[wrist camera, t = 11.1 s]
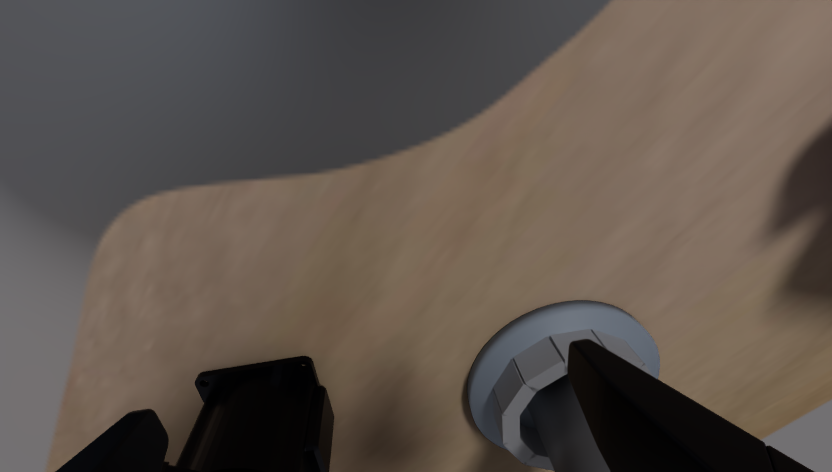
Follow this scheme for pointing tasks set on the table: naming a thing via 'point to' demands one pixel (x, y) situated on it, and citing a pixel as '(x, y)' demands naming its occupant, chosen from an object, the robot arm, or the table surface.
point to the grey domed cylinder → (565, 429)
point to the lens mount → (544, 367)
